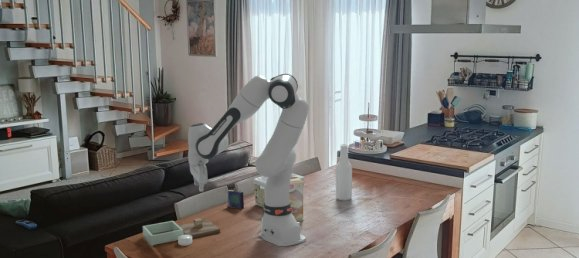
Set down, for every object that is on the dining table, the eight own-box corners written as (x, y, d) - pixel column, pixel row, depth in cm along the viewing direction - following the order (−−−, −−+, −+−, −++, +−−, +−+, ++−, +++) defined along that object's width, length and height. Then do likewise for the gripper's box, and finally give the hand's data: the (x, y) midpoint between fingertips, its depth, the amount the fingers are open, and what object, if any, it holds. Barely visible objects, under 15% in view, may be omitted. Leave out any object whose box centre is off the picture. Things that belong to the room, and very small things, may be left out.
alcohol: (351, 196, 291) (352, 143, 287) (351, 200, 283) (352, 146, 278) (335, 195, 292) (336, 143, 287) (335, 200, 284) (335, 146, 279)
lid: (220, 232, 235) (219, 221, 234) (188, 239, 228) (187, 227, 227) (207, 222, 248) (207, 212, 247) (177, 228, 240) (176, 217, 240)
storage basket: (287, 196, 293) (287, 170, 290) (306, 203, 280) (306, 176, 278) (252, 205, 278) (251, 178, 276) (270, 212, 265) (269, 184, 263)
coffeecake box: (273, 223, 249) (273, 184, 245) (270, 219, 255) (269, 180, 252) (303, 220, 252) (303, 181, 249) (299, 216, 259) (299, 177, 256)
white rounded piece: (194, 245, 222) (194, 238, 222) (180, 248, 219) (180, 240, 219) (189, 241, 228) (189, 233, 227) (176, 244, 225) (175, 236, 224)
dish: (183, 240, 228) (183, 229, 227) (151, 247, 221) (151, 236, 221) (173, 231, 240) (173, 220, 239) (143, 236, 233) (142, 226, 232)
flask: (227, 207, 275) (226, 187, 273) (230, 205, 277) (229, 185, 276) (242, 209, 271) (242, 189, 269) (245, 207, 273) (244, 187, 272)
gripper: (210, 163, 227) (211, 194, 230) (200, 153, 246) (200, 181, 248) (196, 164, 225) (197, 195, 227) (186, 154, 243) (187, 182, 246)
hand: (198, 188), depth 238 cm, fingers open, 8 cm apart
